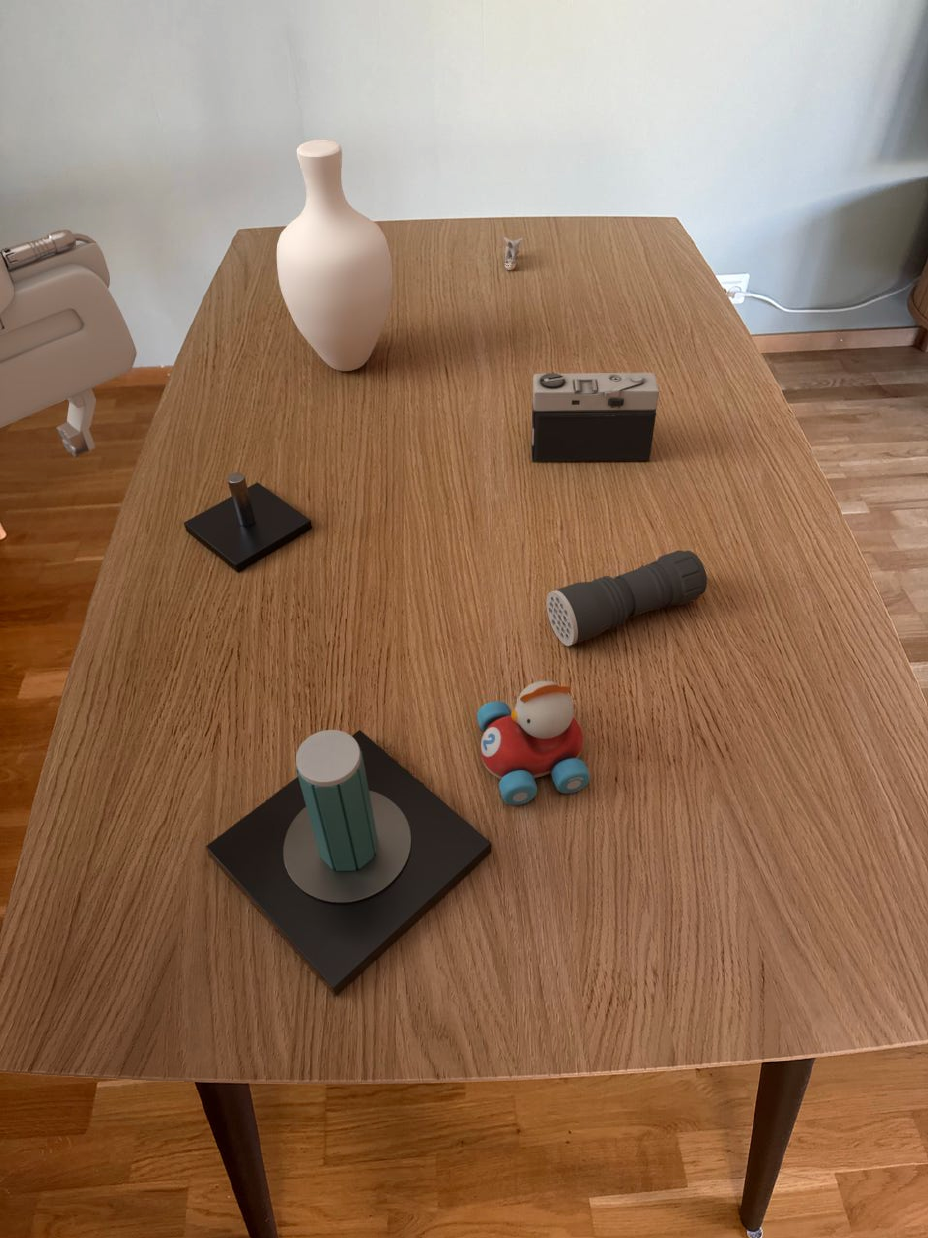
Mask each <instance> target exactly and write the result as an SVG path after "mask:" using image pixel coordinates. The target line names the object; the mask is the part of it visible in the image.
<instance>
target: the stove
mask: <svg viewBox="0 0 928 1238" xmlns="http://www.w3.org/2000/svg"><path fill="white" fill-rule="evenodd" d="M351 736H352V737H353V738H354V739H355V740H356V742H357V743H358V745H359V748H360V750H361V751H362V756H363V761H364V767H365V772H366V778H367V783H368V788H369V794H370V799H371V805H372V810H373V816H374V821H375V826H376V832H377V848H376V854H374V858H372V859H371V860H370V861H369V862H368V863H366V864H365V865H364V866H363V867H362V868H361V869H358V868H357V867H356V871H336V868H335V869H332V868H331V867H330V866H329V865H328V864H327V863H326V862H325V861H324V860H323V859H322V858H321V857H320V854H319V850H318V847H317V843H316V839H315V836H314V832H313V829H312V825H311V821H310V818H309V814H308V811H307V807H306V803H305V800H304V796H303V793H302V789H301V785H300V782H299V778H298V776H297V777H295V778H293V780H292V781H290V782H288V783H286V785H285V786H283V787H282V788H280V789H279V790H278V791H277V792H275V793H274V794H273V795H271V796H270V797H269V798H267V799H266V800H265V801H264V802H262V803H261V804H259V805H258V806H257V807H255V808H254V809H253V810H252V811H250V812H249V813H247V814H246V815H245V816H244V817H243V818H241V819H240V820H238V821H236V823H235V824H233V825H232V826H231V827H229V828H228V829H227V830H225V831H224V832H223V833H221V834H219V836H217V837H216V838H215V839H213V840H212V841H211V842H210V843H208V844H207V845H206V846H205V849H206V851H207V854H208V856H209V858H210V859H211V860H212V861H213V862H214V863H215V864H216V866H218V868H219V869H220V871H222V872H223V873H224V874H225V875H226V877H227V878H228V879H229V880H230V881H231V882H232V883H233V884H234V885H235V887H236V888H238V890H239V891H240V892H241V893H242V894H243V895H244V897H245V898H246V899H247V900H248V901H249V902H250V903H251V904H252V906H254V908H255V909H256V910H257V911H258V912H259V913H260V915H261V916H262V917H263V918H264V919H265V920H266V921H267V922H268V924H270V926H271V927H272V928H273V929H274V930H275V931H276V932H277V934H279V935H280V937H281V938H282V939H283V940H284V941H285V942H286V943H287V944H288V945H289V947H290V948H291V949H292V951H293V952H295V954H297V956H298V957H299V958H300V959H301V960H302V961H303V963H305V965H306V966H307V967H308V968H309V969H310V970H311V971H312V972H313V973H314V974H315V976H316V977H317V978H318V979H319V980H320V981H321V982H322V983H323V985H324V986H325V987H326V988H327V989H328V991H330V992H331V994H332V995H333V996H334V997H337V996H339V995H340V993H342V992H343V991H344V990H345V989H346V988H347V987H348V986H349V985H350V984H351V983H353V982H354V981H355V980H356V979H357V978H358V977H359V976H360V975H361V974H362V973H363V972H364V971H366V969H368V967H370V966H371V965H372V964H373V963H374V962H375V961H377V959H379V958H380V957H381V956H382V955H383V954H384V953H385V952H386V951H387V950H388V949H389V948H390V947H391V946H393V944H395V943H396V942H397V941H398V940H399V939H400V938H401V937H403V935H405V933H406V932H407V931H409V930H410V929H411V928H412V927H413V926H414V925H416V923H417V922H418V921H420V920H421V919H422V918H423V917H424V916H425V915H426V914H427V913H428V912H429V911H430V910H431V909H432V908H434V907H435V906H436V905H437V904H438V903H439V902H440V901H441V900H442V899H444V897H445V896H447V894H449V893H450V892H451V891H452V890H453V889H454V888H455V887H456V886H457V885H459V884H460V883H461V882H462V881H463V880H464V879H465V878H466V877H467V876H468V875H469V874H470V873H471V872H473V871H474V870H475V868H477V867H478V866H479V865H480V864H481V863H483V861H485V860H486V858H488V857H489V856H490V855H491V854H492V850H493V849H492V846H493V844H492V842H491V841H489V839H487V838H486V836H484V835H483V834H482V833H481V832H479V831H478V830H477V829H476V828H475V827H474V826H472V825H471V824H470V823H469V822H468V821H467V820H465V818H463V817H462V816H461V815H460V814H458V813H457V812H456V811H455V809H453V808H451V807H450V806H449V805H448V804H447V803H446V802H444V800H442V799H441V798H440V797H439V796H438V795H436V794H435V793H434V792H433V791H432V790H431V789H430V788H428V787H427V786H426V785H425V784H424V783H422V782H421V781H420V780H419V779H418V778H417V777H416V776H414V775H413V774H412V773H411V772H410V771H408V769H406V768H405V767H404V766H403V765H402V764H400V762H398V761H397V760H396V759H394V758H393V756H392V755H390V754H389V753H387V751H385V750H384V749H383V748H382V747H381V746H379V745H378V744H377V743H376V742H375V741H373V740H372V739H371V737H369V736H368V735H366V734H365V732H363V731H362V730H361V729H358V730H357V731H356V732H354V734H352V735H351Z"/></svg>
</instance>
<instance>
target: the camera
mask: <svg viewBox="0 0 928 1238" xmlns="http://www.w3.org/2000/svg"><path fill="white" fill-rule="evenodd" d="M532 376H533V377H532V414H531V443H530V444H531V445H530V446H531V462H535V463H536V462H537V463H538V462H649V461H650V459H651V454H652V453H651V452H652V447H653V440H654V432H655V424H656V417H657V410H658V402H659V395H660V389H659V385H658V380H657V377H656V374H655V373H653V372H588V373H587V372H586V373H585V372H583V373H582V372H579V373H573V372H572V373H535V374H533V375H532Z"/></svg>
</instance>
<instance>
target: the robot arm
mask: <svg viewBox="0 0 928 1238" xmlns="http://www.w3.org/2000/svg"><path fill="white" fill-rule="evenodd" d="M77 242H78V243H77ZM110 275H111V274H110V271H109V268H108V265H107V262H106V259H105V255H104V253H103V250H102V248H101V246H100V245H99V243H97V241H95V240H94V239H93V238H92V237H90V236H88V235H86V234H83V233H74V232H72V231H71V230H70V229H60V230H56V231H52V232H50V233H48V234H47V235H46V236H44V237H40V238H38V239H33V240H29V241H24V242H20V243H18V244H14V245H11V246H9V247H5V248H2V249H0V429H2V428H4V427H6V426H9V425H11V424H14V423H16V422H19V421H20V420H23V419H26V418H27V417H29V416H32V415H34V414H36V413H39V412H41V411H44V410H45V409H48V408H50V407H52V406H55V405H56V404H57V405H58V404H59V403H61V402H64V401H68V403H69V404H68V411H67V417H66V422H64V423H62V424H60V425H58V426H56V430H57V432H58V435H59V436H60V437H61V439H62V440H61V442H62V445H63V446H64V448H65V449H66V451H67V452H68V453H70V454H72V456H73V457H74V458H77V457H79V456H81V455H84V454H86V453H89V452H90V451H92V450H94V449H96V445H95V441H94V439H93V437H92V434H91V431H90V428H91V426H92V422H93V417H94V414H95V413H94V412H95V410H96V405H97V399H96V395H95V393H94V390H93V389H94V388H96V387H98V386H101V385H103V384H105V383H108V382H110V381H112V380H114V379H117V378H119V377H122V376H124V375H126V374H128V373H129V372H131V371H132V369H133V367H134V364H135V361H136V357H137V354H138V353H137V348H136V344H135V341H134V339H133V337H132V334H131V332H130V329H129V326H128V325H127V322H126V320H125V318H124V316H123V313H122V311H121V309H120V308H119V306H118V304H117V301H116V300H115V298H114V297H113V295H112V293H111V291H110V289H109V288H110V285H111V276H110Z"/></svg>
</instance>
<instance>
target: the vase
mask: <svg viewBox="0 0 928 1238" xmlns="http://www.w3.org/2000/svg"><path fill="white" fill-rule="evenodd" d="M296 158H297V161H298V163H299V167H300V170H301V173H302V177H303V180H304V184H305V192H306V196H305V197H306V198H305V204H304V208H303V210H302V211H301V213H300V214H299V215H298V216H297V217H296V218H294V219H293V220H292V221H291V222H290V223H288V225H287V226H286V227H285V228H284V229H283V230H282V231H281V232H280V234H279V237H278V241H277V245H276V267H277V278H278V283H279V289H280V291H281V294H282V297H283V300H284V303H285V305H286V308H287V311H288V313H289V315H290V317H291V318H292V320H293V322H294V324H295V326H296V328H297V329H298V331H299V332H300V335H302V336H303V338H304V339H305V341H306V342H307V343H308V344H309V345H310V346H311V348H312V349H313V350H314V352H316V353H317V355H318V356H319V357H320V358H321V360H322V361H323V362H324V363H325V364H326V365H327V366H329V367H330V368H332V369H334V370H336V371H341V372H352V371H355V370H358V369H361V367H363V366H364V365H366V363H367V362H368V360H369V358H370V357H371V356H372V353H373V351H374V349H375V347H376V345H377V343H378V341H379V338H380V337H381V334H382V332H383V329H384V327H385V325H386V322H387V319H388V316H389V311H390V307H391V299H392V292H393V283H394V280H393V279H394V278H393V277H394V274H393V264H392V257H391V253H390V248H389V243H388V241H387V238H386V236H385V234H384V232H383V231H382V229H381V227H380V226H379V225H378V224H377V223H376V222H374V221H373V220H371V219H370V218H369V217H367V216H366V215H364V214H363V213H361V212H359V211H358V210H356V209H355V208H354V207H352V206H351V205H350V204H349V202H348V200H347V198H346V195H345V192H344V189H343V181H342V166H343V165H342V164H343V150H342V145H341V144H339V143H338V142H337V141H335V140H330V139H314V140H309V141H305V142H303V143H301V144H299V145H298V147H297V149H296Z"/></svg>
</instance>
